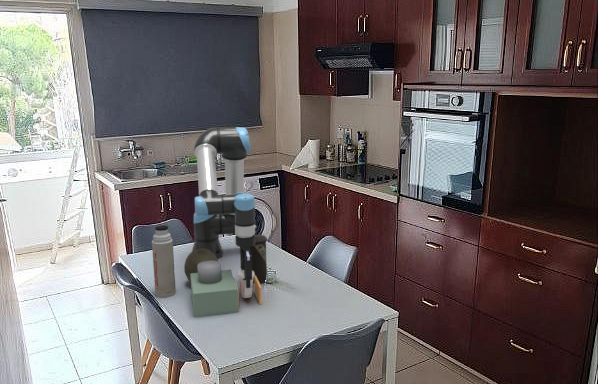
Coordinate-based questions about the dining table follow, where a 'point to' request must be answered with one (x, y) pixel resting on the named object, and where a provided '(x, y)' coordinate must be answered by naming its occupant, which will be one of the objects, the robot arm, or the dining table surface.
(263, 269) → the container
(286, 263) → the dining table surface
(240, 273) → the smoothie
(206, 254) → the cantaloupe
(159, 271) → the thermos bottle
